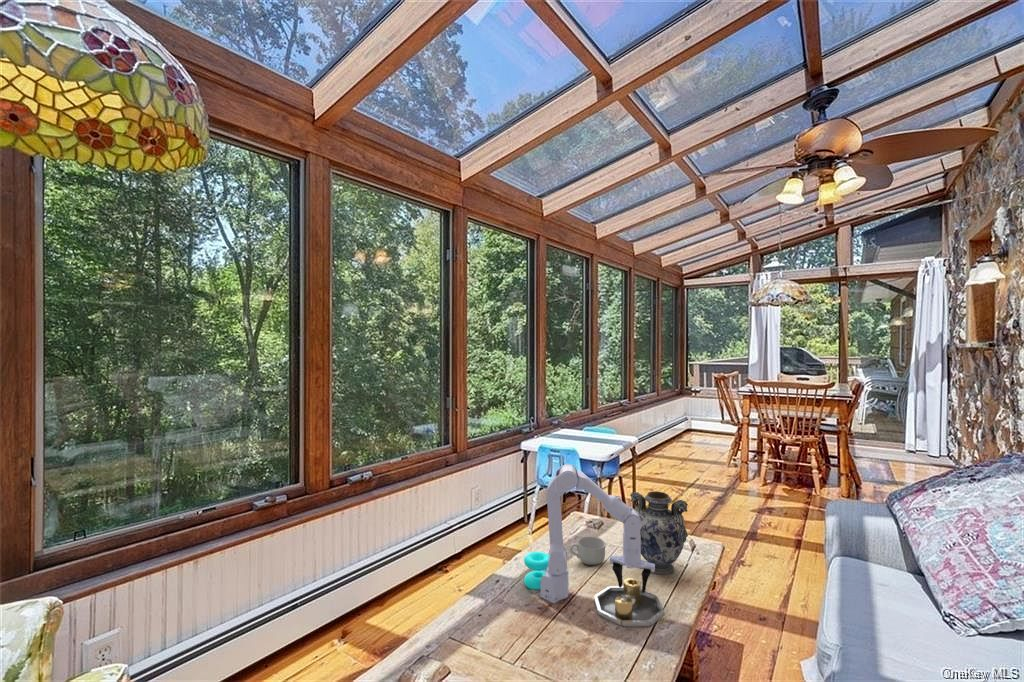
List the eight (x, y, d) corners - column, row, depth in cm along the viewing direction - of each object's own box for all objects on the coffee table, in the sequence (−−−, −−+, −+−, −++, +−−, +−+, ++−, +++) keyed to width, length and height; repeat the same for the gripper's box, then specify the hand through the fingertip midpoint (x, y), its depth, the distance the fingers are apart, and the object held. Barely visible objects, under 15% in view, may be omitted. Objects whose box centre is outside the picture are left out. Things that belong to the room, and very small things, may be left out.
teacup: (604, 556, 188) (604, 536, 188) (607, 569, 178) (606, 548, 178) (569, 555, 190) (569, 535, 190) (570, 568, 179) (569, 547, 179)
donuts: (536, 566, 160) (518, 555, 168) (536, 595, 160) (518, 583, 168) (558, 557, 166) (539, 547, 174) (558, 586, 166) (540, 574, 174)
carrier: (639, 639, 136) (639, 616, 136) (581, 609, 151) (581, 589, 151) (674, 609, 151) (674, 589, 151) (618, 585, 166) (618, 566, 166)
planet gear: (622, 599, 155) (622, 584, 155) (626, 591, 160) (626, 576, 160) (638, 603, 153) (638, 587, 153) (641, 595, 158) (641, 580, 158)
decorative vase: (693, 563, 181) (692, 491, 180) (684, 586, 165) (682, 507, 164) (638, 551, 192) (636, 483, 191) (624, 572, 176) (622, 497, 175)
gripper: (607, 548, 156) (607, 589, 156) (652, 556, 150) (652, 599, 150) (612, 540, 162) (612, 579, 162) (655, 548, 156) (656, 588, 156)
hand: (632, 588), depth 157 cm, fingers open, 7 cm apart
